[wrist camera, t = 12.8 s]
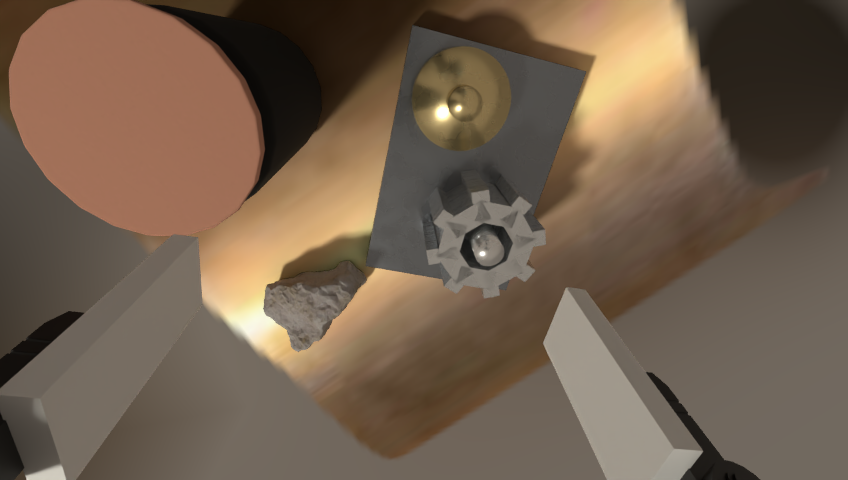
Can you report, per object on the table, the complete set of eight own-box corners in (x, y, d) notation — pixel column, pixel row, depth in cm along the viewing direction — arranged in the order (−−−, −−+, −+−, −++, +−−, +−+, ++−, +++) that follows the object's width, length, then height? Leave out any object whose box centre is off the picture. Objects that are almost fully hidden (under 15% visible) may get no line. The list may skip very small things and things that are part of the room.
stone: (326, 231, 40) (316, 258, 35) (379, 283, 43) (377, 315, 38) (259, 286, 43) (240, 319, 37) (314, 332, 46) (303, 368, 40)
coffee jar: (193, 9, 32) (-23, -36, 15) (330, 40, 33) (266, 28, 17) (197, 143, 36) (31, 219, 20) (318, 165, 37) (257, 253, 21)
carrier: (411, 26, 33) (416, 18, 25) (579, 70, 35) (629, 76, 28) (366, 258, 42) (359, 305, 34) (502, 282, 44) (524, 331, 36)
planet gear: (437, 161, 36) (444, 180, 31) (537, 182, 38) (561, 204, 32) (414, 255, 40) (416, 287, 35) (505, 271, 42) (522, 304, 36)
